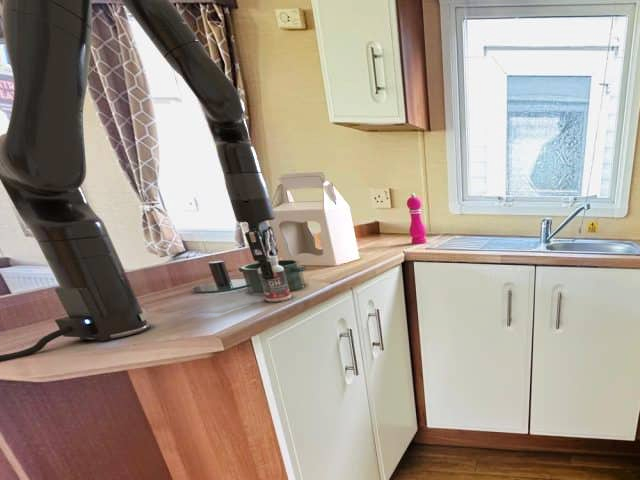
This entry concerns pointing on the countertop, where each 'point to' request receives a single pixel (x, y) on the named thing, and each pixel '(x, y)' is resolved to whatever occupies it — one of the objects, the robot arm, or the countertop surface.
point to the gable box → (328, 213)
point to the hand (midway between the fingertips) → (272, 276)
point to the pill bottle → (275, 283)
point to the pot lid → (220, 280)
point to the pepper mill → (416, 221)
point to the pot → (290, 269)
